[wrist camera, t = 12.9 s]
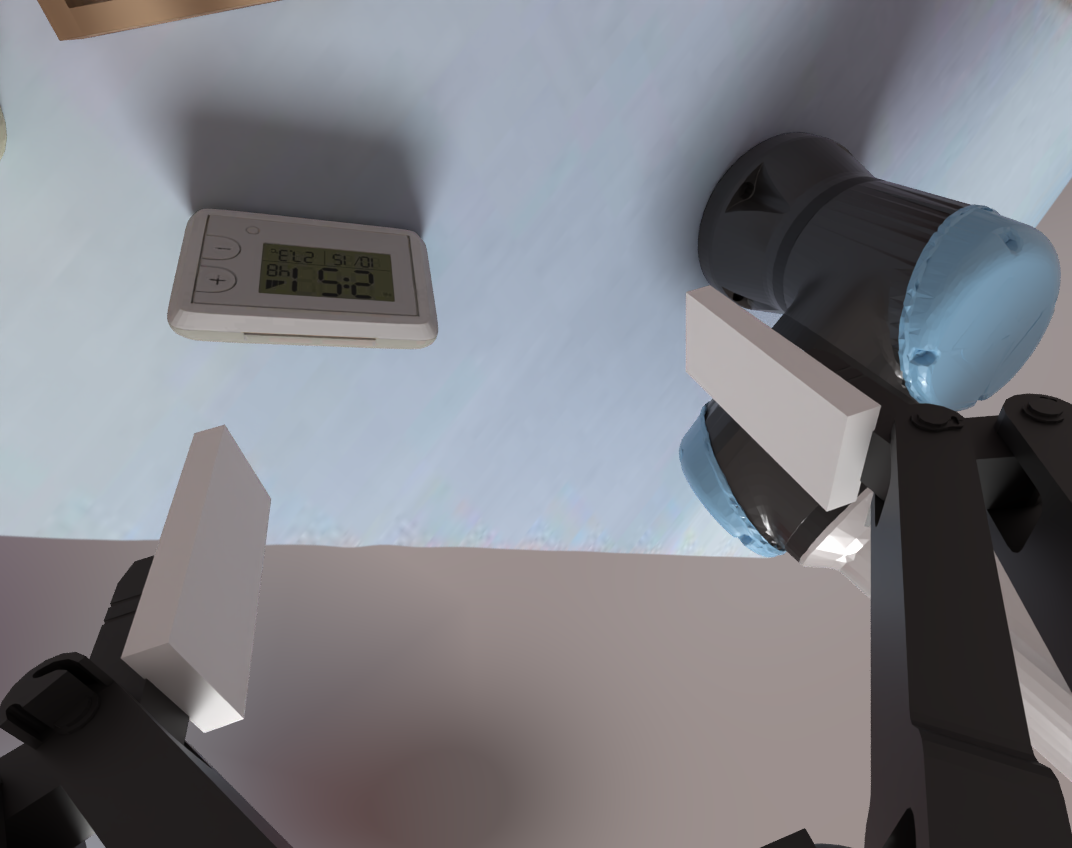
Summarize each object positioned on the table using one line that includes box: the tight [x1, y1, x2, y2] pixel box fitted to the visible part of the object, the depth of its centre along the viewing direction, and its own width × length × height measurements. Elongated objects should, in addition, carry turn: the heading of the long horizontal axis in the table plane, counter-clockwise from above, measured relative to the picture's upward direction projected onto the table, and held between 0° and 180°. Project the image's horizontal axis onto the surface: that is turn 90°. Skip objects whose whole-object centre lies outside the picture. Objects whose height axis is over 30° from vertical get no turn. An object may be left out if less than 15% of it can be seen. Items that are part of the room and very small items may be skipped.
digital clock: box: [167, 209, 438, 349], centre depth 39 cm, size 16×9×11 cm, turn 67°
